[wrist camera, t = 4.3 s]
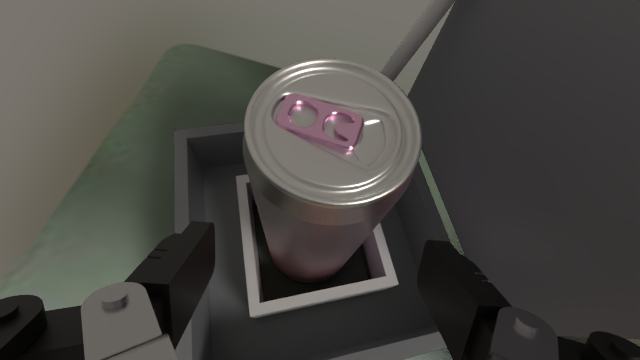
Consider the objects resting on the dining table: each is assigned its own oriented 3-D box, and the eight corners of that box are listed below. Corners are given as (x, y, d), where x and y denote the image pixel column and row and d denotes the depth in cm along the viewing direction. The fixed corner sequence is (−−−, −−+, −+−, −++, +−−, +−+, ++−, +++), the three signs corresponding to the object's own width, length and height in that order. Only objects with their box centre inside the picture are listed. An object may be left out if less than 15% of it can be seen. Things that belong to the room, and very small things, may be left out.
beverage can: (287, 195, 24) (282, 33, 11) (357, 221, 24) (443, 84, 10) (255, 266, 22) (198, 168, 8) (334, 297, 21) (408, 244, 8)
